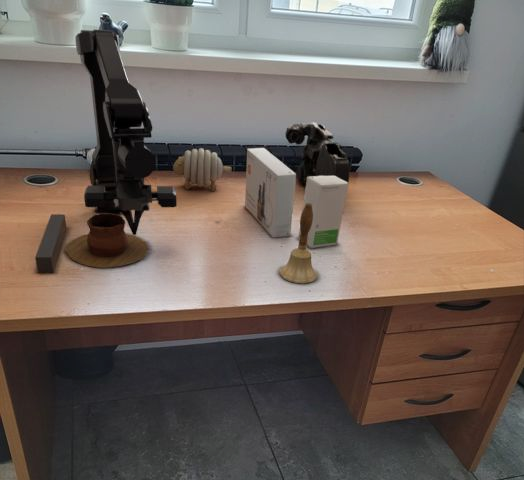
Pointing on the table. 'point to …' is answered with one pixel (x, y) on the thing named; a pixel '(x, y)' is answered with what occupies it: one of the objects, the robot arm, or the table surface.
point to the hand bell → (301, 254)
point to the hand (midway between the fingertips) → (134, 234)
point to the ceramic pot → (106, 243)
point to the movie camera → (318, 152)
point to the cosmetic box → (325, 209)
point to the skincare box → (270, 191)
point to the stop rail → (51, 244)
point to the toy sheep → (200, 168)
